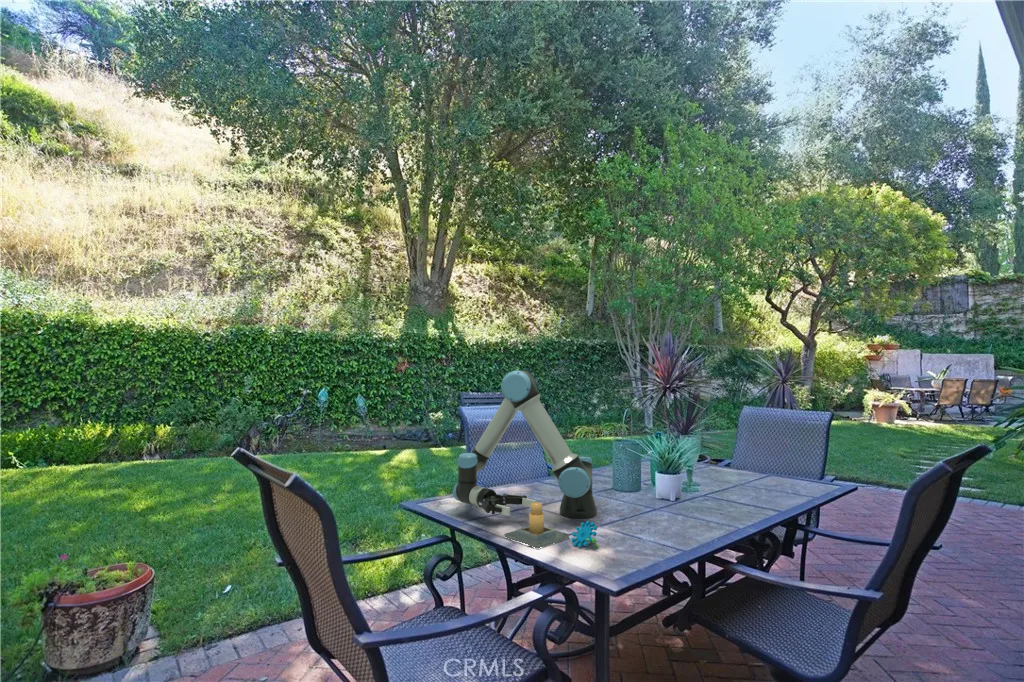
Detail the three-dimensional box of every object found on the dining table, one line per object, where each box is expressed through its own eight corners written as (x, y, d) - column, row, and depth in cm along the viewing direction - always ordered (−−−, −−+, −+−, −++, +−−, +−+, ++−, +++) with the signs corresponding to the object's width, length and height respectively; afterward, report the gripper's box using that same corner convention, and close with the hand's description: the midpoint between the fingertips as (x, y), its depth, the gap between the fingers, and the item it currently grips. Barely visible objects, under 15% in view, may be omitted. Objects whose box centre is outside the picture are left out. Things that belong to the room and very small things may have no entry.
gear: (565, 537, 185) (584, 515, 187) (575, 547, 187) (594, 525, 189) (581, 552, 175) (601, 528, 177) (591, 562, 177) (611, 539, 179)
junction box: (536, 528, 200) (535, 520, 200) (569, 538, 188) (569, 529, 188) (504, 538, 189) (504, 529, 189) (537, 549, 177) (537, 540, 177)
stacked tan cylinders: (536, 530, 192) (536, 501, 193) (547, 534, 189) (546, 503, 189) (526, 533, 189) (525, 503, 189) (536, 537, 185) (536, 506, 186)
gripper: (506, 501, 218) (545, 512, 202) (458, 513, 200) (497, 526, 185) (506, 482, 218) (545, 491, 203) (458, 493, 200) (497, 503, 185)
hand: (522, 508), depth 194 cm, fingers open, 13 cm apart
